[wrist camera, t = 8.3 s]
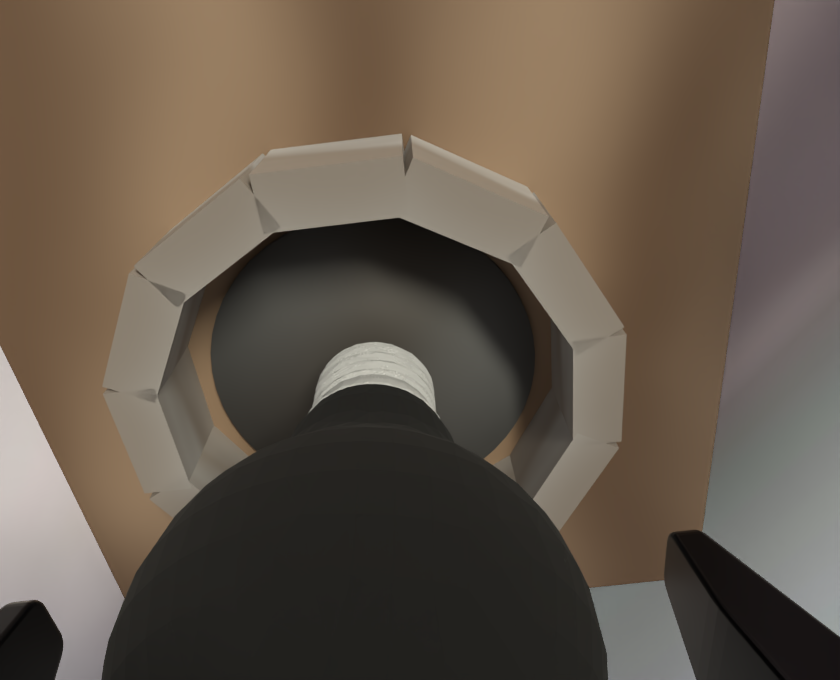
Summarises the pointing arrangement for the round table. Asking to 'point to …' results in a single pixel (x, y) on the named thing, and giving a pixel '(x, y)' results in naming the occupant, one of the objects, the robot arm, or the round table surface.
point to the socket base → (379, 239)
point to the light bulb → (360, 556)
